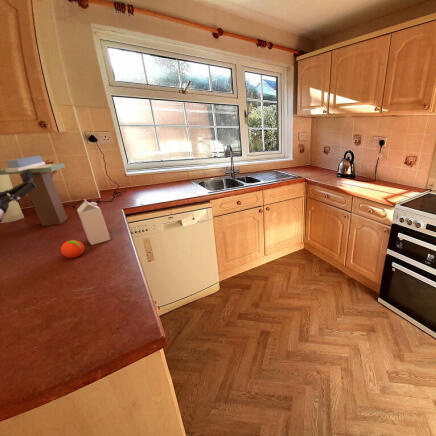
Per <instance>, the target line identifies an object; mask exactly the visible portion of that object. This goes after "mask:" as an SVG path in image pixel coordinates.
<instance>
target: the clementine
mask: <svg viewBox="0 0 436 436" xmlns="http://www.w3.org/2000/svg"><path fill="white" fill-rule="evenodd" d="M84 251H85V246H84V243H83V242H82V241H79V240H77V239H70V240H67V241H65V242H64V243H63V244H62V245H61V246H60V253H61V254H62V255H63V256H64V257H65V258H71V259H73V258H77V257H80V256H81V255H82V254H83V253H84Z"/></svg>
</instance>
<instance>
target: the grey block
mask: <svg viewBox="0 0 436 436" xmlns="http://www.w3.org/2000/svg"><path fill="white" fill-rule="evenodd" d="M5 162H6V164H7V168H8V169H6V168H4V169H5V170H6V172H17V171H22V170H26V169H30V168H33V167H37V166H41V165H44V164H46V162H45V161H43V158H42V156H41V155H30V156H26V157H25V156H24V157H21V158H15V159H11V160H5Z"/></svg>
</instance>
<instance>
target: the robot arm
mask: <svg viewBox="0 0 436 436" xmlns="http://www.w3.org/2000/svg"><path fill="white" fill-rule="evenodd" d="M32 177H33V175H32V174H31V173H30V171H27V173H26V175H25V177H24V179H23V181H22V183H20V184H17V185H16V186H13V187H12V188H10V189H6V190H4V191H0V224H1V223H2V221H3V219H4V217H5V215H6V213H7V212H8V210H9V204H10V202H14V201H15V202H16V203H20V202H21V201H22V199H23V198H24V197H26V196H27V195H28V193H29V192H30V191H32V190H33V189H34V188H35V187H36V186H35V184H34V183H33V182H32V181H33V179H32Z"/></svg>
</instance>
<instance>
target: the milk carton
mask: <svg viewBox="0 0 436 436" xmlns="http://www.w3.org/2000/svg"><path fill="white" fill-rule="evenodd" d="M83 200H84V201H83V202H82V204H80V206H79V207H77V209H76V211H77V214H78V216H79V217H78V218H79V219H80V221H81V225H82V228H83V230H84V233H85V237H86V238H87V241H88V243H89V244H90V245H91V246H94V245H97V244H100V243H105V242H107V241H111V236H110V233H109V231H108V228H107V224H106V221H105V218H104V215H103V212H102V209H101V207H99V206H98V203H97V202H95V201H91V202H89V201H87V200H86V199H85V198H84V199H83Z"/></svg>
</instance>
